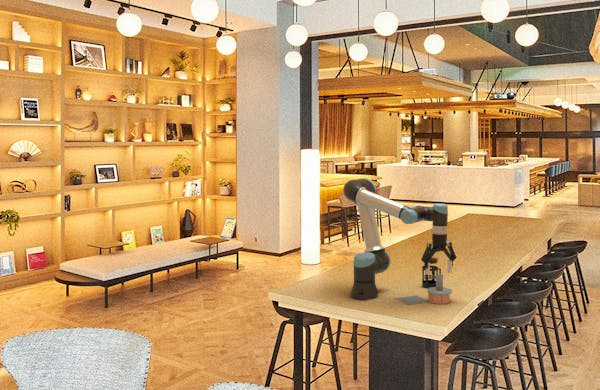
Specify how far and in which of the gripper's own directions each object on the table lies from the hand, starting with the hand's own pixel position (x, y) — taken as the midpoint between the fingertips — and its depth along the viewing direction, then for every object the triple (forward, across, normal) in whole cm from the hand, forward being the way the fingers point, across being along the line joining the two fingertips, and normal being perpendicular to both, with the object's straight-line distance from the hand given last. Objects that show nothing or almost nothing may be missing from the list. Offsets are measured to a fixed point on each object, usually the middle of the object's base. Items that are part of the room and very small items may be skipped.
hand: (438, 273), depth 293 cm
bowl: (+15, 0, -1) cm, 15 cm away
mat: (+15, -12, +6) cm, 20 cm away
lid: (+10, 0, -1) cm, 10 cm away
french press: (+16, +13, +26) cm, 33 cm away
